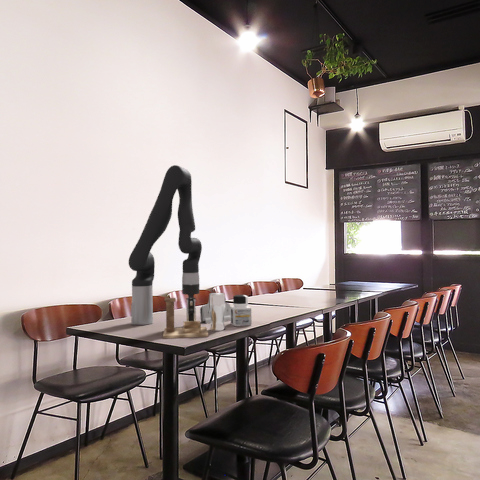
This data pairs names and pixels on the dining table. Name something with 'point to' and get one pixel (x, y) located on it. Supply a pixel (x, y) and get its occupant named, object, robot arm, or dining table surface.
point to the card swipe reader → (207, 318)
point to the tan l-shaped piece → (188, 326)
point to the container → (240, 311)
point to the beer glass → (217, 311)
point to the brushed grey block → (188, 315)
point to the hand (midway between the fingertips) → (191, 322)
